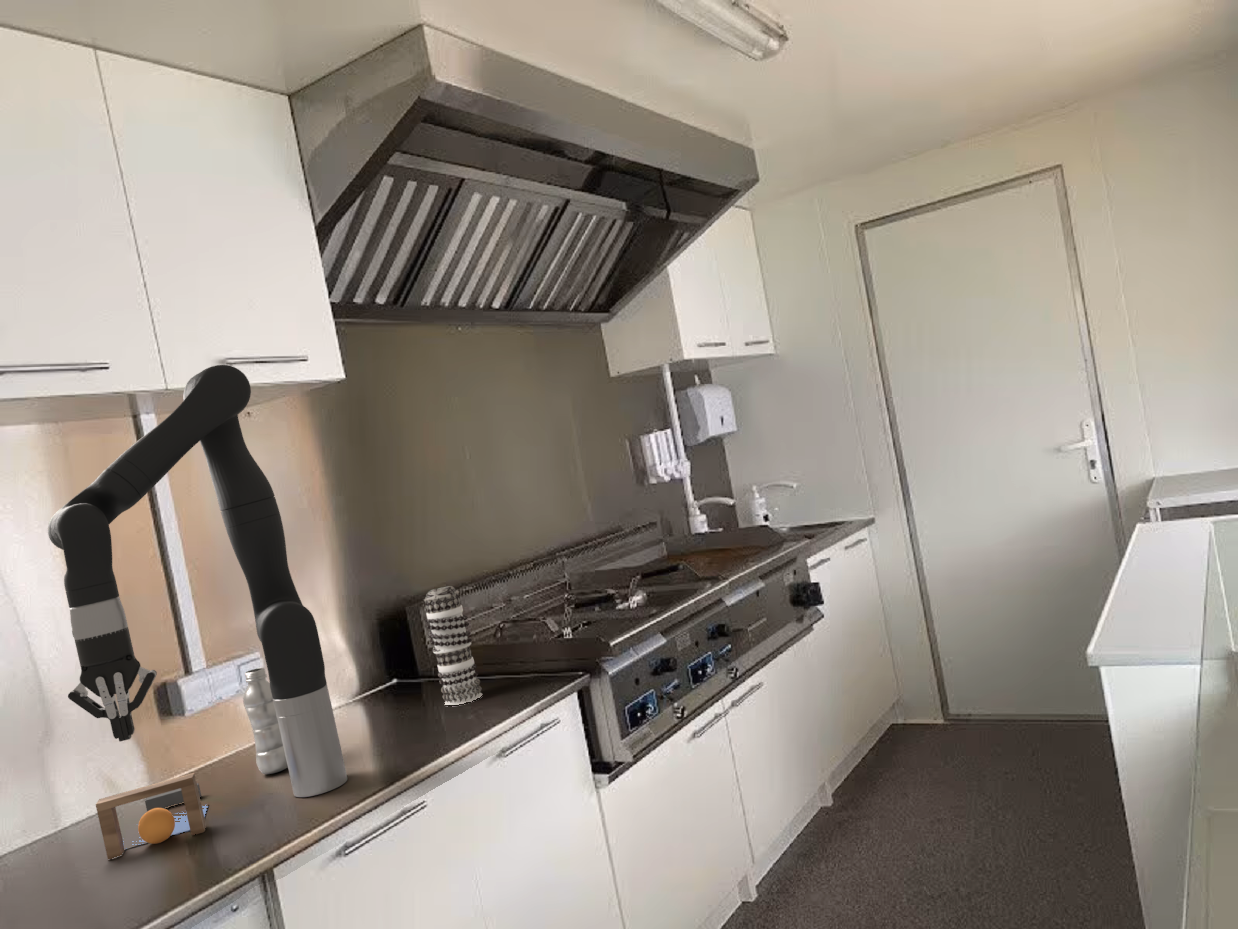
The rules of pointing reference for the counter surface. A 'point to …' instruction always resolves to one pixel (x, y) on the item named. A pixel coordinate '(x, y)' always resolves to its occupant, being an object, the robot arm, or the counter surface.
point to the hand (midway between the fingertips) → (125, 739)
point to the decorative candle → (451, 646)
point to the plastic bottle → (264, 723)
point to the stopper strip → (166, 799)
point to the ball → (156, 825)
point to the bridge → (108, 804)
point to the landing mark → (180, 824)
